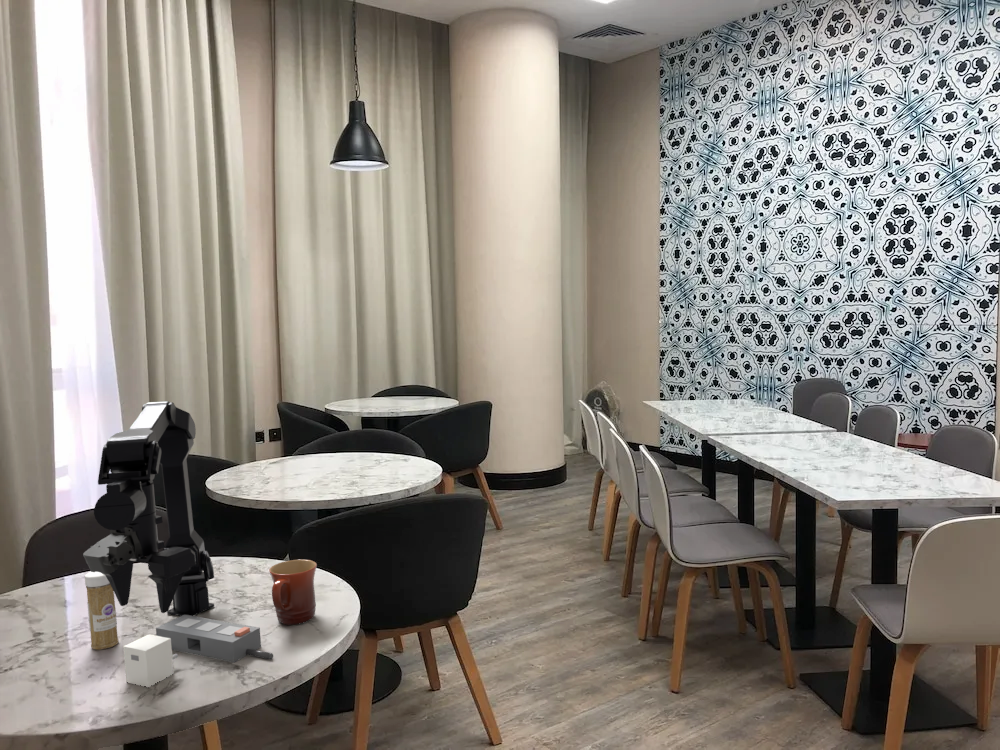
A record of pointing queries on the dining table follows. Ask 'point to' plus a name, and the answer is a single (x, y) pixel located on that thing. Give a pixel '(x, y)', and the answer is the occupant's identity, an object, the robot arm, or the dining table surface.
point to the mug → (294, 591)
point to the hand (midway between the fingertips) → (144, 608)
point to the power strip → (213, 638)
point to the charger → (148, 660)
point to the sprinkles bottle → (101, 611)
